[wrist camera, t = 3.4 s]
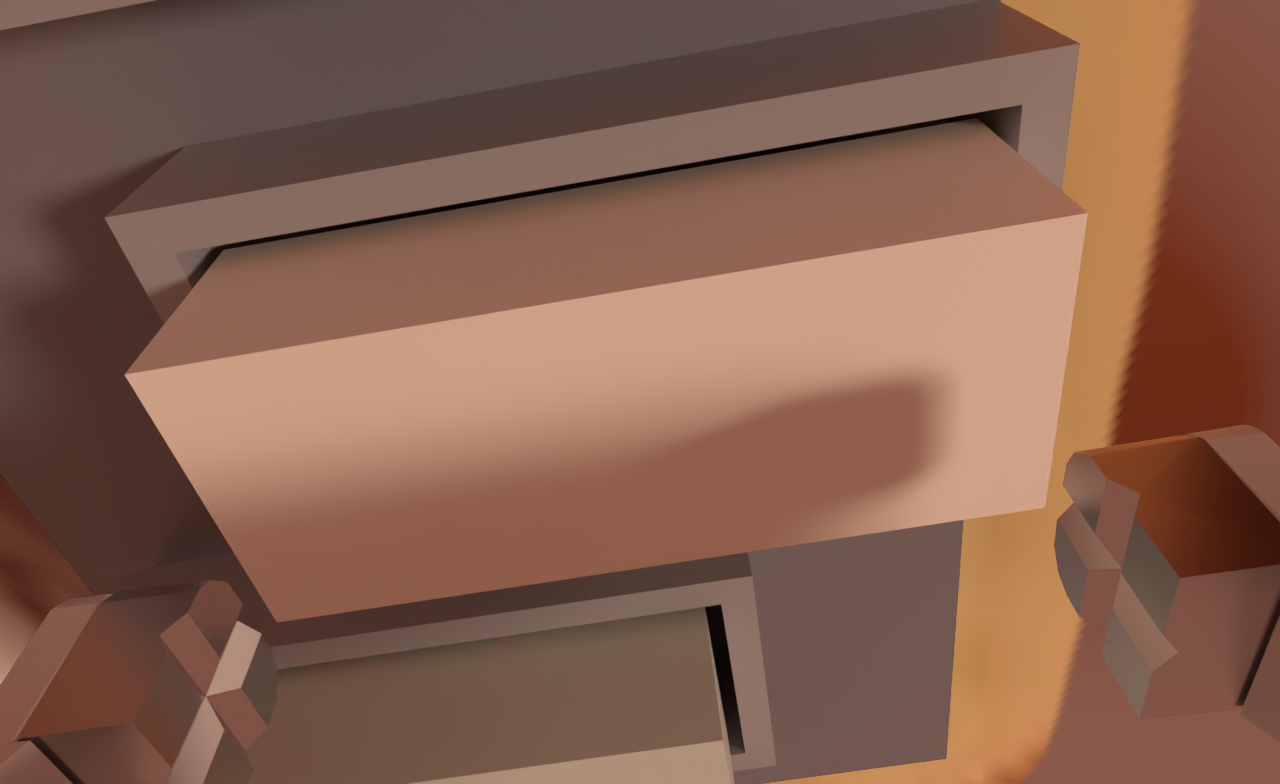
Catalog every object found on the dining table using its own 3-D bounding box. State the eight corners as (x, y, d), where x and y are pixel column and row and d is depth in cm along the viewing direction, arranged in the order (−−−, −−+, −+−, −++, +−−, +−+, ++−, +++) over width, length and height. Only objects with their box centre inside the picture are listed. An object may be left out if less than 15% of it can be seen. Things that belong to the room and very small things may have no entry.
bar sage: (725, 720, 18) (746, 867, 16) (266, 784, 19) (216, 936, 16) (702, 592, 16) (722, 740, 13) (179, 669, 16) (107, 824, 14)
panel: (901, 637, 26) (982, 858, 21) (326, 718, 27) (260, 950, 22) (928, -896, 10) (1310, -1672, 5) (-474, -559, 11) (-1475, -886, 6)
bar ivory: (961, 374, 13) (1044, 507, 11) (332, 474, 14) (276, 622, 11) (977, 118, 11) (1087, 213, 9) (223, 249, 12) (123, 373, 9)
